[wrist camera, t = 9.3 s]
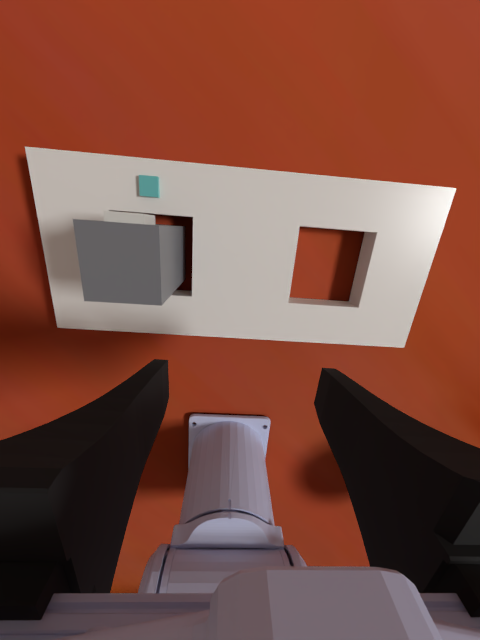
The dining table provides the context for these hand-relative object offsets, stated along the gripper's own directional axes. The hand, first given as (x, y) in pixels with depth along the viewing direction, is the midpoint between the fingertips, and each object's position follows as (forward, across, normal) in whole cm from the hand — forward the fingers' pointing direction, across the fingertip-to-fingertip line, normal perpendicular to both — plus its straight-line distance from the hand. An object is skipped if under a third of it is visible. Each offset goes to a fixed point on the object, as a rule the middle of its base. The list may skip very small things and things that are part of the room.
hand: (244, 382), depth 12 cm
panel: (+10, 0, -4) cm, 11 cm away
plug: (+11, +6, -4) cm, 13 cm away
